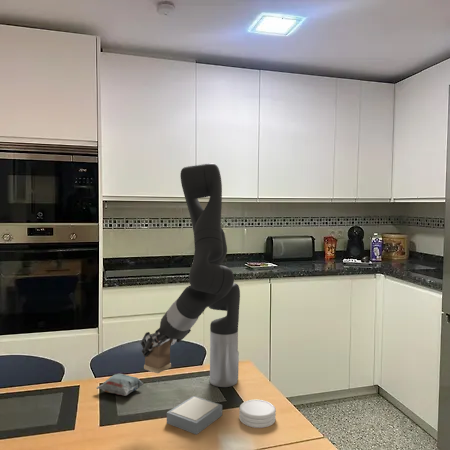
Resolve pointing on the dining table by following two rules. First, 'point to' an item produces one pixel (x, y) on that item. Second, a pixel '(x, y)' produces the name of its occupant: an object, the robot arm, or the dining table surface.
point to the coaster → (257, 413)
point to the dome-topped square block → (158, 358)
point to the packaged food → (121, 384)
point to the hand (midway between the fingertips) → (153, 351)
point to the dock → (194, 414)
